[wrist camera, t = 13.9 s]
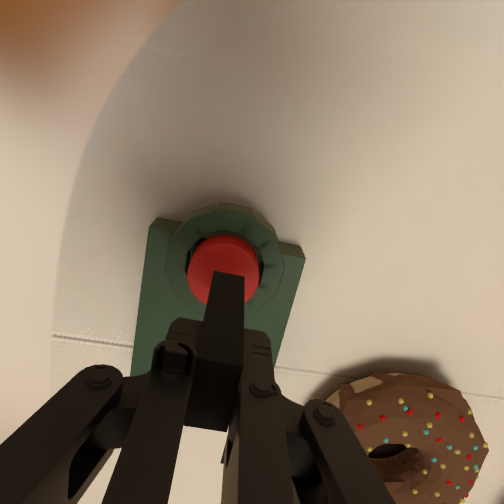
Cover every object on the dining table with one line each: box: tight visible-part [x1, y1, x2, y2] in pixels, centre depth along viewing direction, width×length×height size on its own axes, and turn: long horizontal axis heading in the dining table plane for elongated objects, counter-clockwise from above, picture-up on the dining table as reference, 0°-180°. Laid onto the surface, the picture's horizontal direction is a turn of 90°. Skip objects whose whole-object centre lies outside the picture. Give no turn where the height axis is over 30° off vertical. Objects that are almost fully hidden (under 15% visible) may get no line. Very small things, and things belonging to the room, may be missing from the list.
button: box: [187, 234, 259, 305], centre depth 21 cm, size 4×4×2 cm
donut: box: [325, 372, 489, 504], centre depth 29 cm, size 14×14×5 cm
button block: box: [130, 203, 306, 376], centre depth 25 cm, size 14×10×4 cm
